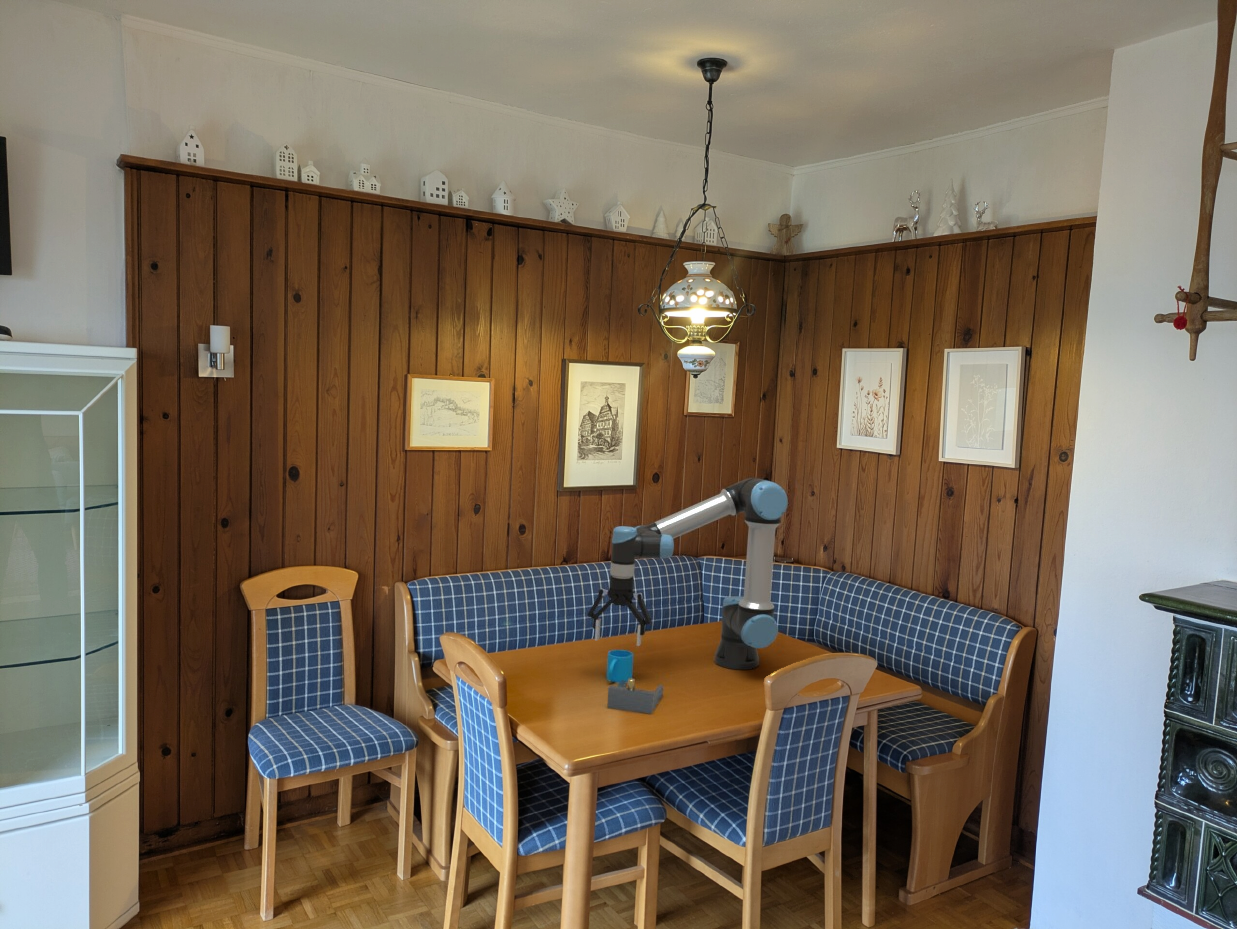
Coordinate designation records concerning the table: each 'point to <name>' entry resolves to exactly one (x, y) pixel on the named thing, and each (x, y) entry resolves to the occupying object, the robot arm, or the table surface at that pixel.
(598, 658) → the table surface
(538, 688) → the table surface
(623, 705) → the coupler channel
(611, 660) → the mug
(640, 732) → the table surface
